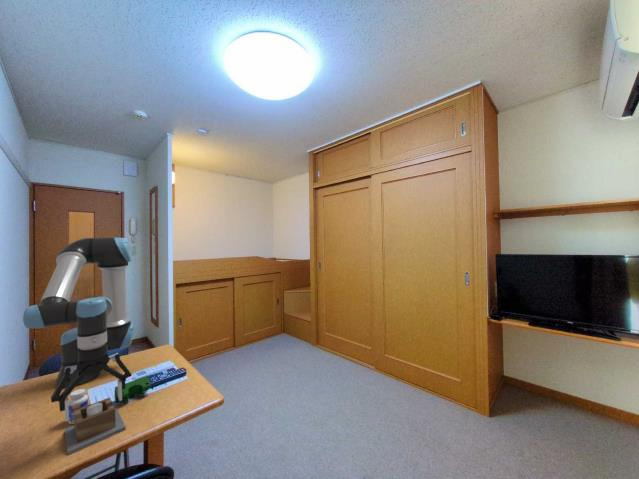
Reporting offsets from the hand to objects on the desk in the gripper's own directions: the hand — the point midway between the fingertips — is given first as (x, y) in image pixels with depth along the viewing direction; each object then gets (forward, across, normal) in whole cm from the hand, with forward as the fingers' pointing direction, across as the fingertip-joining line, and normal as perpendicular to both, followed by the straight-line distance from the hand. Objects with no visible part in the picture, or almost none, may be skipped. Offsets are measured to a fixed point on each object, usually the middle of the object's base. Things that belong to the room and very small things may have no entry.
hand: (94, 408), depth 89 cm
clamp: (+8, +13, +12) cm, 19 cm away
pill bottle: (+8, -3, +11) cm, 14 cm away
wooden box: (+6, 0, 0) cm, 6 cm away
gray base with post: (+7, 0, -1) cm, 7 cm away
